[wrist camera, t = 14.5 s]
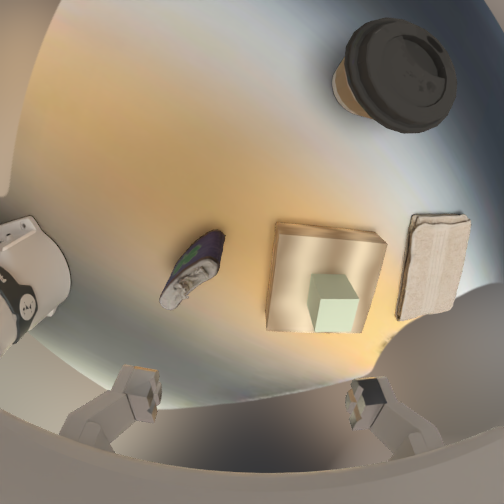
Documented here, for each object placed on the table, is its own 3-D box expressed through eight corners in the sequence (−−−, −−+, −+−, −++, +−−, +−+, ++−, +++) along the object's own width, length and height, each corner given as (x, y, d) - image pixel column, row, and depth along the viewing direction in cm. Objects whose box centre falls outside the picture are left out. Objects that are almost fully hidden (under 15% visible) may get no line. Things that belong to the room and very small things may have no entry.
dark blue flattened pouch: (183, 279, 42) (165, 323, 32) (169, 265, 42) (146, 306, 32) (230, 238, 40) (223, 276, 30) (214, 223, 39) (202, 256, 29)
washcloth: (464, 209, 38) (475, 215, 35) (447, 305, 45) (455, 314, 42) (405, 212, 39) (415, 218, 36) (392, 316, 46) (399, 326, 43)
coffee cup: (411, 88, 31) (481, 78, 18) (367, 148, 35) (427, 162, 21) (346, 32, 29) (394, -11, 15) (297, 92, 32) (325, 69, 19)
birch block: (265, 310, 45) (266, 330, 40) (276, 221, 39) (279, 234, 35) (352, 314, 45) (361, 333, 41) (373, 230, 40) (387, 244, 35)
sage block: (306, 304, 39) (314, 332, 33) (311, 273, 37) (320, 298, 31) (339, 304, 39) (351, 331, 33) (345, 274, 37) (359, 299, 31)
